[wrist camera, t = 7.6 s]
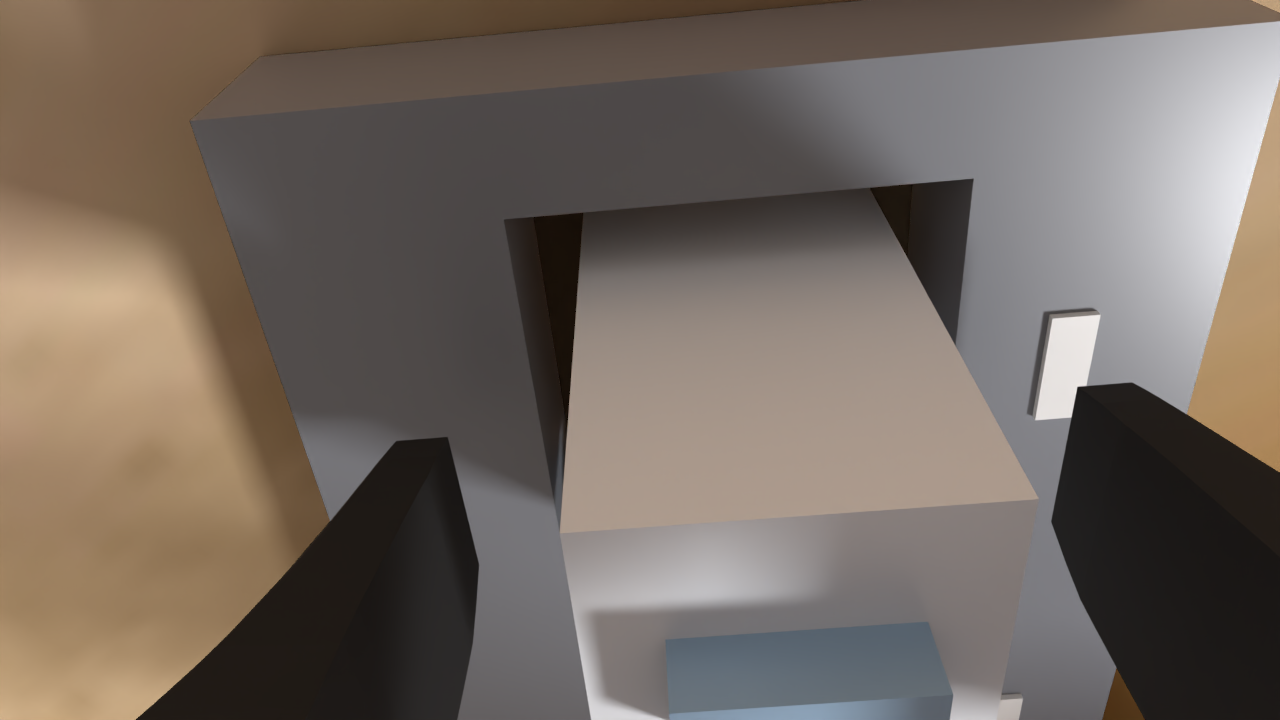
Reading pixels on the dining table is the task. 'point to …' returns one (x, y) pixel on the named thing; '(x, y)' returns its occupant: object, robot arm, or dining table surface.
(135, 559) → the dining table surface
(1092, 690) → the port panel
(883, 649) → the plug
